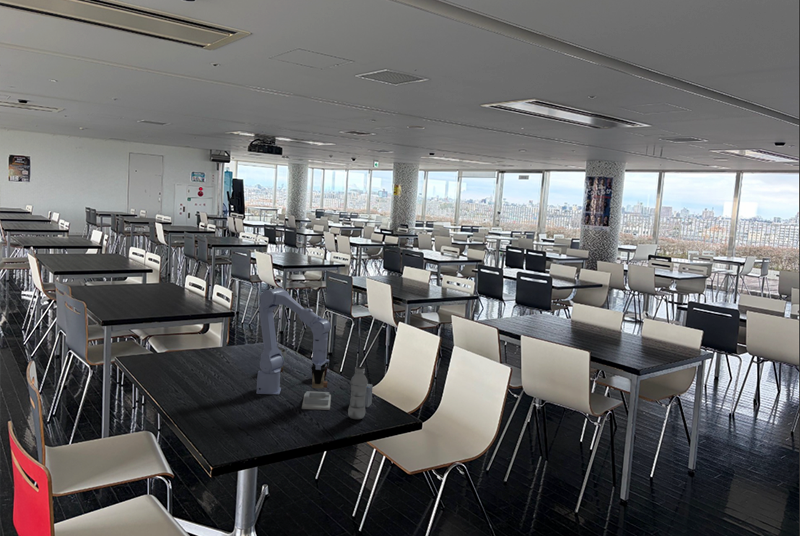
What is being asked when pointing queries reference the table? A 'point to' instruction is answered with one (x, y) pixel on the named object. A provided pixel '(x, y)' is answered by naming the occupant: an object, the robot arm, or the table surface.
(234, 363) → the table surface
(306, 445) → the table surface
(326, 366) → the mate gourd
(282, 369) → the food container
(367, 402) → the medicine box
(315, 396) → the keyed cradle
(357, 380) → the plastic bottle
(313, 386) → the keyed peg
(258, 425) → the table surface
